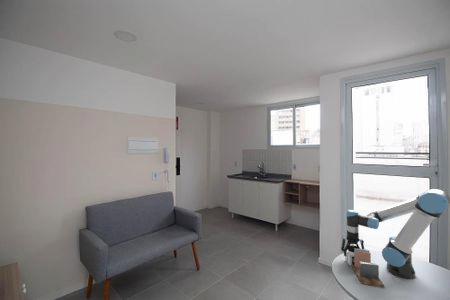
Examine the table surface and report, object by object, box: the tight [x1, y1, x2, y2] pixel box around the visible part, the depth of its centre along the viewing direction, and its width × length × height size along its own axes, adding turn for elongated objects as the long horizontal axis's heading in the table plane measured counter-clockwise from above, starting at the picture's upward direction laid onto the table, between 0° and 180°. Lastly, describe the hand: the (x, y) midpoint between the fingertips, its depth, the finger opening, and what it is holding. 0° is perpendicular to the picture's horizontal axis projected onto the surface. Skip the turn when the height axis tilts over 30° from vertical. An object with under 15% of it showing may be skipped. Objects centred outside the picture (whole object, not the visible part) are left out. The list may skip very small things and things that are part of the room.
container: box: [347, 244, 358, 266], centre depth 151 cm, size 8×8×13 cm
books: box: [354, 248, 372, 267], centre depth 143 cm, size 10×2×12 cm, turn 72°
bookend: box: [360, 262, 380, 280], centre depth 131 cm, size 10×2×9 cm, turn 72°
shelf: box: [351, 264, 385, 288], centre depth 135 cm, size 12×21×2 cm, turn 162°
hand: (353, 261), depth 151 cm, fingers closed on container, 8 cm apart
